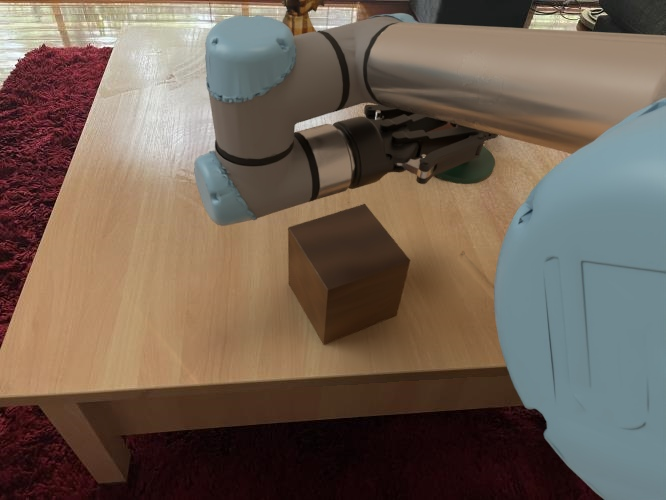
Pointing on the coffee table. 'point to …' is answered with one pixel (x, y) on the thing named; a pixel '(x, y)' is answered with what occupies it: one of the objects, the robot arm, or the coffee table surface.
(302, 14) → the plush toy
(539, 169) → the coffee table surface
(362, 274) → the stand
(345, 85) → the robot arm
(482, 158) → the lid
